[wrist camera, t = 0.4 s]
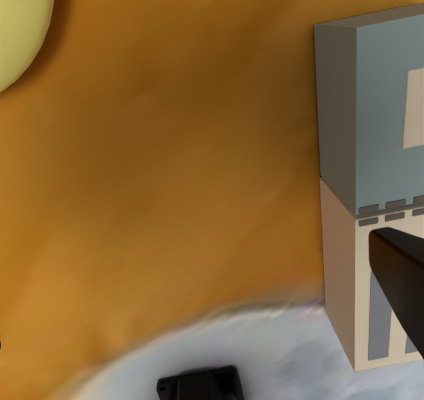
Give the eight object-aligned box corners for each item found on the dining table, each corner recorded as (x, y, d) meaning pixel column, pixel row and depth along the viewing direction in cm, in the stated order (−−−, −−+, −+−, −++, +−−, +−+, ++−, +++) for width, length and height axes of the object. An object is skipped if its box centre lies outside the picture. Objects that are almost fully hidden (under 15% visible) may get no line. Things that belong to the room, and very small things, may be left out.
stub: (405, 157, 21) (463, 195, 17) (320, 174, 21) (356, 215, 17) (416, 3, 17) (495, -1, 13) (313, 24, 17) (357, 27, 13)
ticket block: (392, 299, 26) (436, 358, 22) (325, 311, 26) (355, 373, 22) (402, 160, 21) (462, 200, 17) (319, 177, 21) (356, 220, 17)
